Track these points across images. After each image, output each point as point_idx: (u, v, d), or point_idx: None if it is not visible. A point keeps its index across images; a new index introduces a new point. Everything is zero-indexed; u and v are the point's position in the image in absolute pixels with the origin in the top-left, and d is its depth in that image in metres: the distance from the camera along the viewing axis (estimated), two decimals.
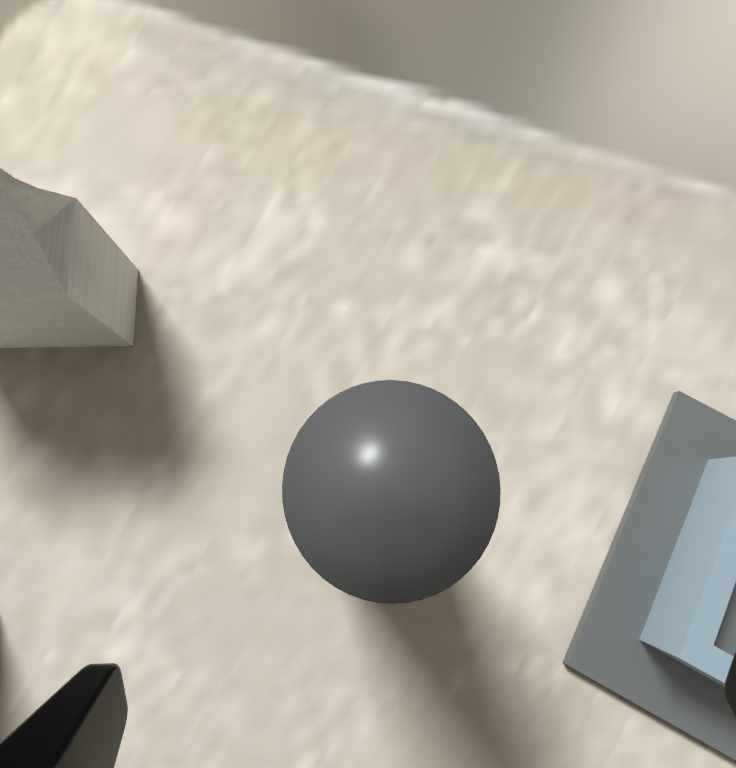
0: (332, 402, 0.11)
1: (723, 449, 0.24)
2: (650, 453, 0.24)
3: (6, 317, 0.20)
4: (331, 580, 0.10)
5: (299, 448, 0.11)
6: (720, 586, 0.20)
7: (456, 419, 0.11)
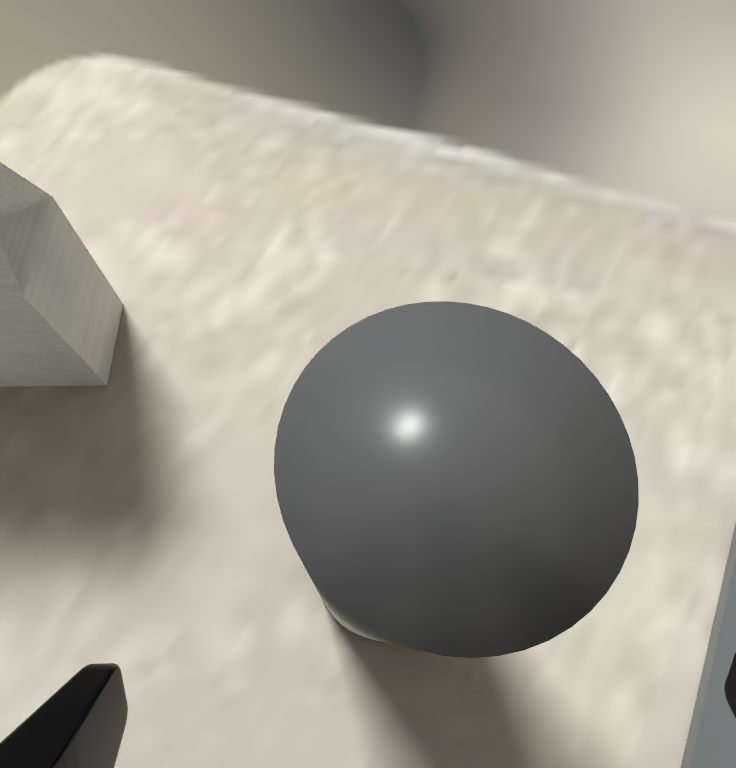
0: (356, 330, 0.07)
1: None
2: None
3: None
4: (357, 612, 0.06)
5: (304, 392, 0.07)
6: None
7: (549, 355, 0.07)
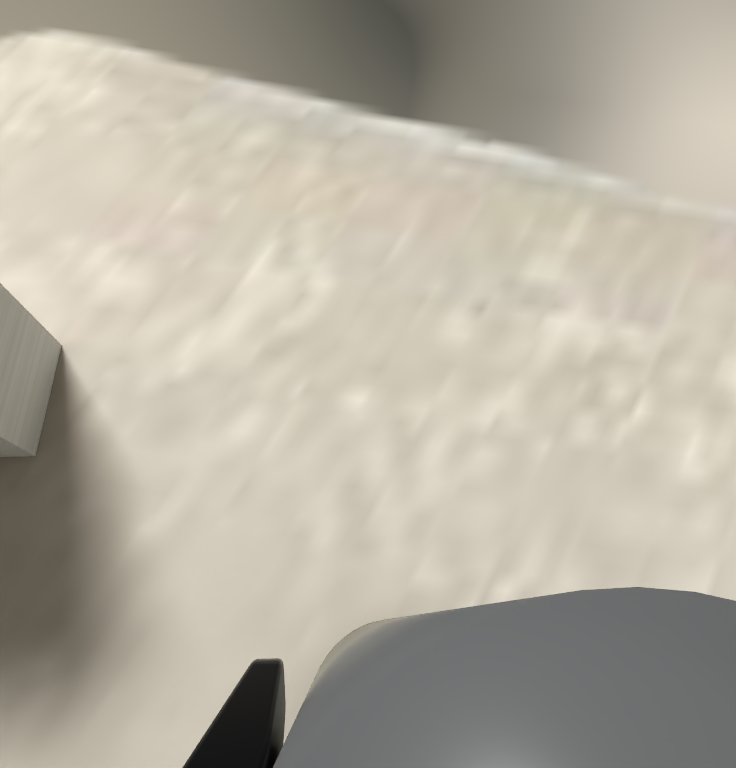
0: (387, 700, 0.02)
1: None
2: None
3: None
4: None
5: None
6: None
7: None
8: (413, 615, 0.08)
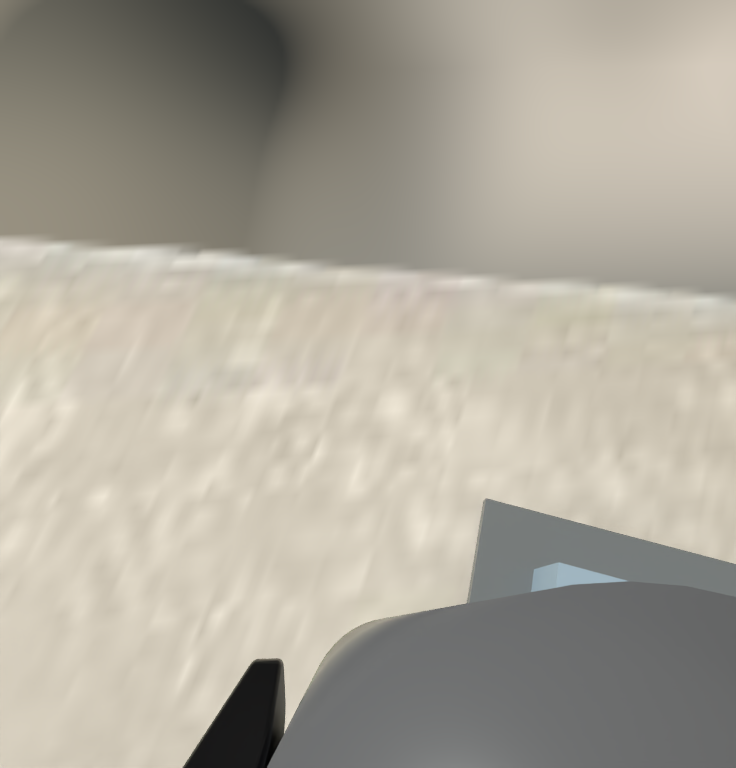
0: (379, 694, 0.02)
1: (547, 552, 0.21)
2: (471, 578, 0.21)
3: None
4: None
5: None
6: None
7: None
8: None
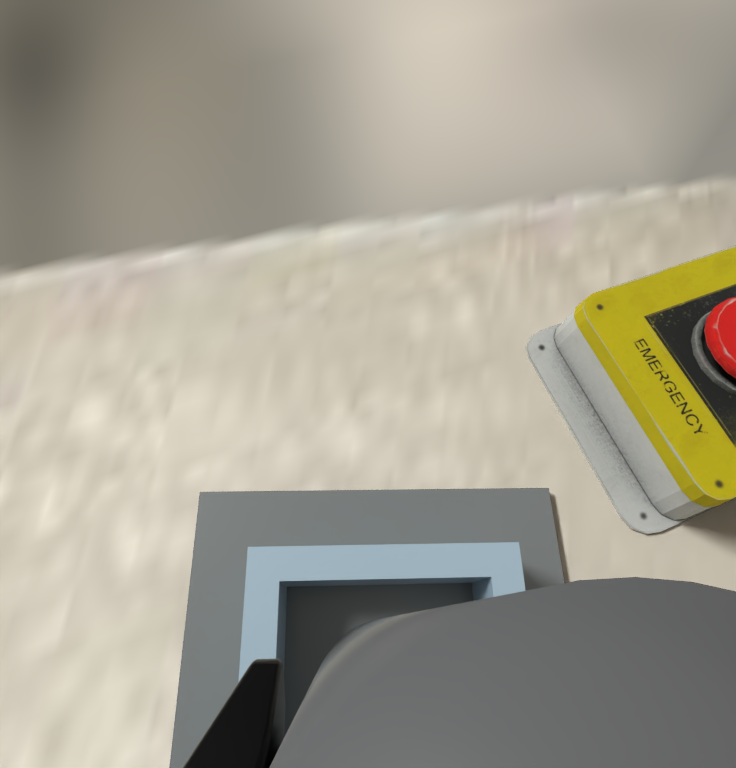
0: (385, 690, 0.02)
1: (274, 533, 0.19)
2: None
3: None
4: None
5: None
6: None
7: None
8: None
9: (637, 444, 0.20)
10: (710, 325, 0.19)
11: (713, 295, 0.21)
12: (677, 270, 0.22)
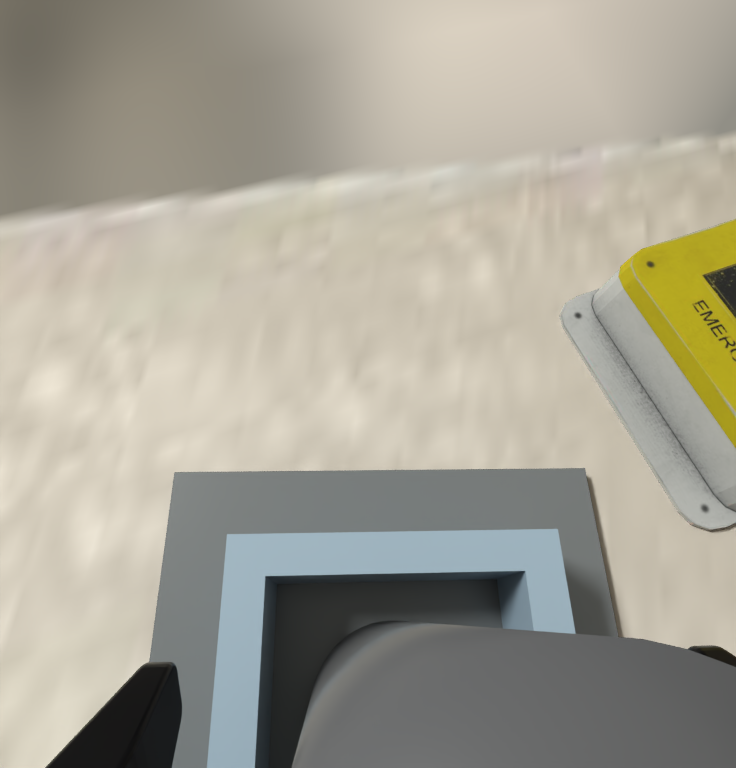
0: (403, 726, 0.03)
1: (262, 520, 0.16)
2: None
3: None
4: None
5: None
6: None
7: None
8: (412, 624, 0.09)
9: (697, 424, 0.17)
10: None
11: None
12: None
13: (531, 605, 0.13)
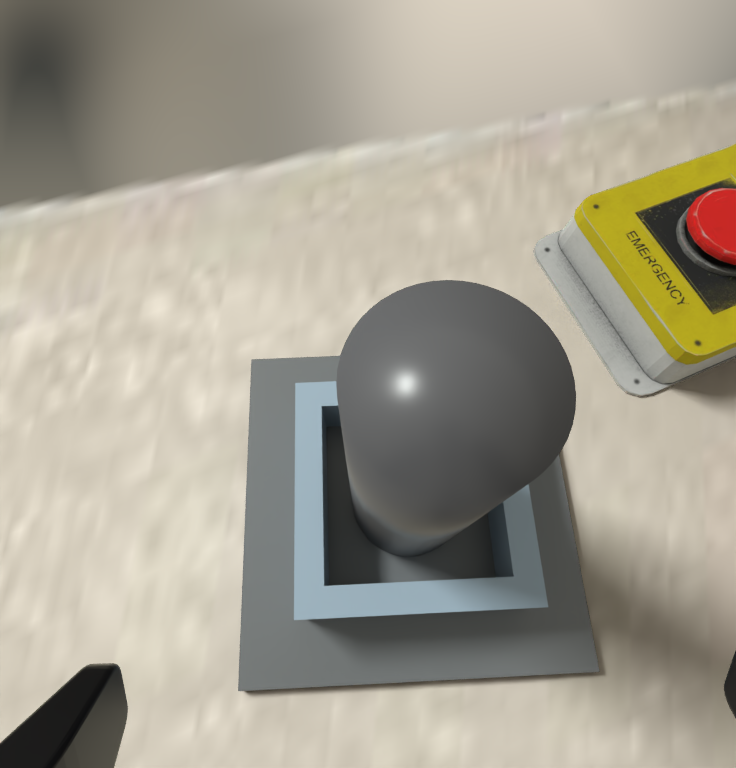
0: (385, 303, 0.10)
1: None
2: None
3: None
4: (394, 478, 0.09)
5: (353, 346, 0.10)
6: (309, 523, 0.18)
7: (518, 315, 0.10)
8: None
9: (630, 321, 0.23)
10: (691, 213, 0.23)
11: (696, 192, 0.24)
12: (664, 173, 0.25)
13: None
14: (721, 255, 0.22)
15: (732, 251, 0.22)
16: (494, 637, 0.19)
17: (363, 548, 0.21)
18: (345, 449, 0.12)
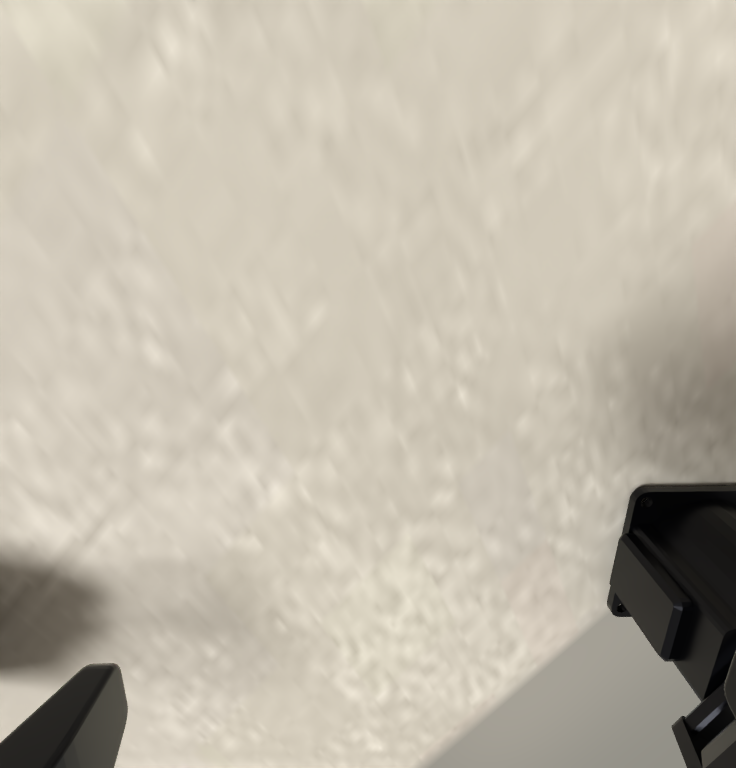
0: None
1: None
2: None
3: None
4: None
5: None
6: None
7: None
8: None
9: None
10: None
11: None
12: None
13: None
14: None
15: None
16: None
17: None
18: None
